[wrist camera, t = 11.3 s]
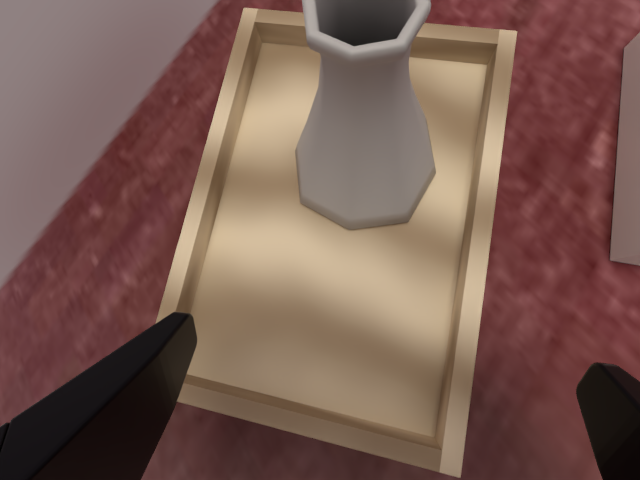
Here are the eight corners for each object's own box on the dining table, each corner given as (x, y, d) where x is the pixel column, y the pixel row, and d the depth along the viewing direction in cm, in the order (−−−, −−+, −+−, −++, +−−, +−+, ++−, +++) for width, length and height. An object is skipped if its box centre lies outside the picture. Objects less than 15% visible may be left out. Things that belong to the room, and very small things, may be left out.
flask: (280, 217, 18) (187, 112, 9) (310, 92, 20) (259, -126, 10) (423, 244, 17) (501, 158, 8) (446, 109, 18) (539, -116, 9)
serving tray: (445, 453, 16) (460, 478, 14) (166, 380, 18) (136, 390, 16) (497, 65, 20) (517, 31, 17) (257, 41, 22) (244, 7, 19)
